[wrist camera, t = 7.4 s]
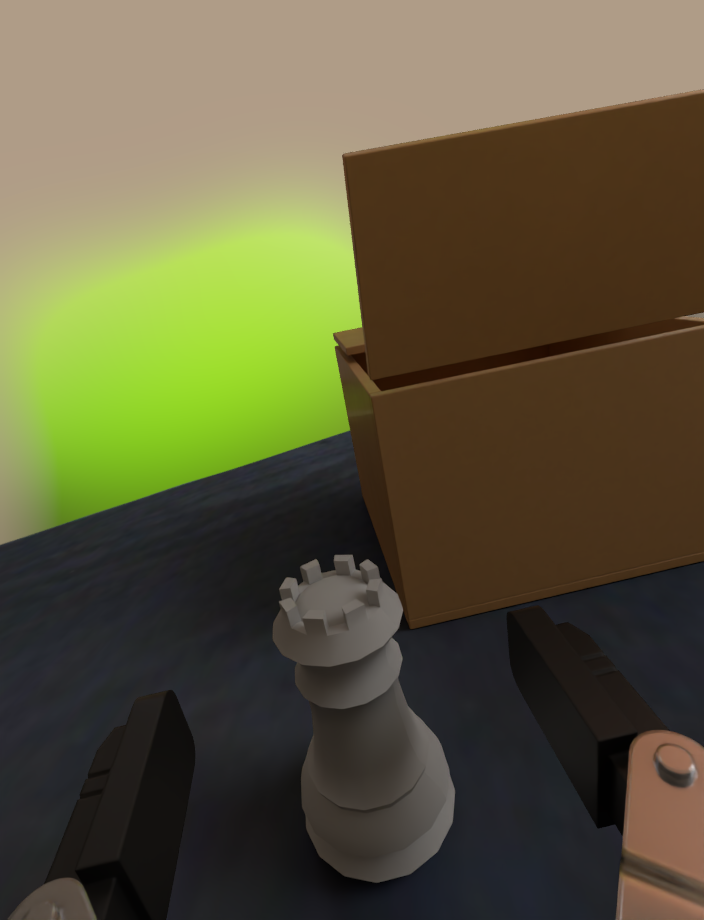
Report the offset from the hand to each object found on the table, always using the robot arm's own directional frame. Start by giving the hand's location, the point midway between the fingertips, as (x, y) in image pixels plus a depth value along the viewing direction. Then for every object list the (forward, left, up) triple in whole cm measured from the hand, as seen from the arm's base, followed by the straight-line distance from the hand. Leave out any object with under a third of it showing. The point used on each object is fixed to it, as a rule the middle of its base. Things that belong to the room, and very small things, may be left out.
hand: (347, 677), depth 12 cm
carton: (+7, +16, -6) cm, 19 cm away
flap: (+8, +9, +8) cm, 15 cm away
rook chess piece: (0, +1, -6) cm, 6 cm away
